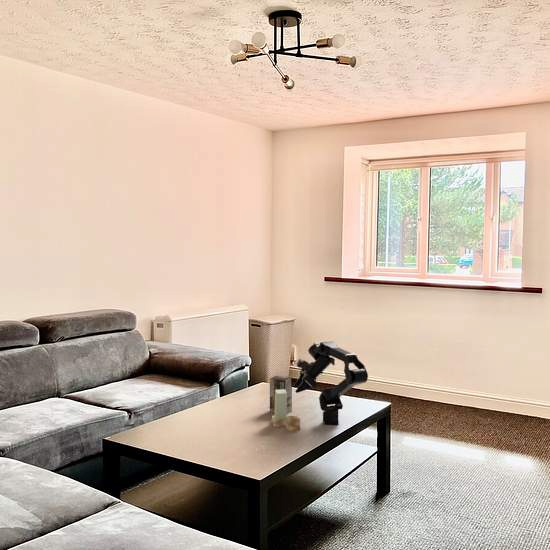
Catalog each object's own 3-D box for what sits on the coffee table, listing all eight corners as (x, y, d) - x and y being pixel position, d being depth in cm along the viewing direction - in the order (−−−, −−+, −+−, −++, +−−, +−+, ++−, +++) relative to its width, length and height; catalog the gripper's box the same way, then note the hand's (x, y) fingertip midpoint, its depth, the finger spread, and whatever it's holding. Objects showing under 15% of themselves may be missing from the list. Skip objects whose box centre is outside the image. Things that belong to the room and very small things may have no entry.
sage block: (284, 414, 267) (285, 389, 264) (286, 418, 262) (287, 393, 260) (274, 415, 266) (275, 389, 264) (276, 419, 262) (276, 393, 259)
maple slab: (287, 422, 268) (287, 415, 267) (289, 426, 261) (289, 420, 260) (272, 422, 267) (272, 415, 267) (273, 427, 260) (273, 420, 260)
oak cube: (296, 426, 260) (296, 415, 260) (300, 430, 255) (300, 418, 255) (285, 427, 259) (285, 416, 258) (288, 431, 254) (288, 419, 253)
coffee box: (292, 410, 284) (292, 377, 283) (285, 414, 278) (285, 380, 277) (276, 408, 289) (276, 375, 288) (269, 411, 283) (269, 377, 282)
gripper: (305, 349, 278) (281, 372, 278) (309, 357, 260) (284, 382, 260) (321, 365, 279) (298, 389, 279) (327, 374, 260) (301, 399, 261)
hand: (295, 389), depth 270 cm, fingers open, 9 cm apart
